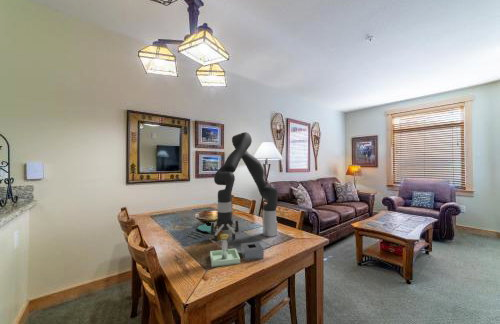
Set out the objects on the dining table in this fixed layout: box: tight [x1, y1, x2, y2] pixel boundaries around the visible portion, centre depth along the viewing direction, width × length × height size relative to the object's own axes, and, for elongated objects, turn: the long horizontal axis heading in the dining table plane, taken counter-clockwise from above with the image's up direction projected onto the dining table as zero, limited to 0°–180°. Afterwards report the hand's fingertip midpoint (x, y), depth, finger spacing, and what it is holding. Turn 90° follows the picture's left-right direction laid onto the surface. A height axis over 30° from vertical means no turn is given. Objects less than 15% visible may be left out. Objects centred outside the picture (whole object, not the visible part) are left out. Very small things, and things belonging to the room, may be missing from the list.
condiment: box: [209, 220, 224, 244], centre depth 134 cm, size 7×8×12 cm
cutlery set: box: [184, 223, 211, 240], centre depth 150 cm, size 20×30×2 cm, turn 143°
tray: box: [209, 248, 241, 268], centre depth 107 cm, size 14×12×2 cm
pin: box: [220, 233, 230, 260], centre depth 107 cm, size 4×4×12 cm
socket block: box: [240, 241, 265, 262], centre depth 112 cm, size 10×10×5 cm
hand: (224, 241), depth 107 cm, fingers open, 8 cm apart
